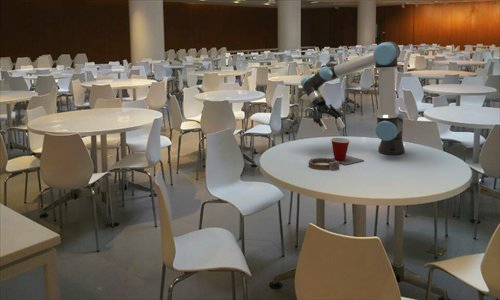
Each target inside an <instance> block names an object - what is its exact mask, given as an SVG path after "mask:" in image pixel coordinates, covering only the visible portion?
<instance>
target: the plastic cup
mask: <svg viewBox="0 0 500 300" xmlns="http://www.w3.org/2000/svg"><path fill="white" fill-rule="evenodd" d="M330 141H331V146H332V152H333V158H334V159H335V160H337V161H344V160H345V158H346V155H347V152H348V147H349V144H350V142H351V140H350V139H348V138H345V137H331V138H330Z"/></svg>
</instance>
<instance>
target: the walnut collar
mask: <svg viewBox="0 0 500 300" xmlns="http://www.w3.org/2000/svg"><path fill="white" fill-rule="evenodd" d="M308 168H310V169H313V170H319V171H326V170H327V171H332V172H333V171H337V170H340V164H339V162H338V161H337V160H334V159H331V158H329V157H328V158H327V157H317V158H311V159H309V160H308Z"/></svg>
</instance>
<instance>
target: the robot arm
mask: <svg viewBox="0 0 500 300" xmlns="http://www.w3.org/2000/svg"><path fill="white" fill-rule="evenodd" d="M400 55H401V48H400V46H399V44H397V43H396V42H394V41H386V42H385V41H384V42H381V43H379V44H378V45H377V46H376V47H375V48H374V50H373V51H371V52H370V51H369V52H368V53H366V54H363V55H360V56H357V57H355V58H352V59H350V60H346V61H344V62H342V63H338V64H335V65H333V66H330V67H328V66H326V65H325V66H323V67H322V68H320V69H319V70H318V71H317V72H316V73H315V74H314V75H313V76H312V77H311V76H306V77H305V78H303V79H302V80H301V82H300V86H301V87H302V89H303V91H304V92H305V94H306V95H307V98H308V100H309V101H310V103H311V105H312V108H311V111H312V117H313V118H312V119H313V122H314V123H315V124H318V126H319V127H321V130H322V131H323V132H324V133H325V132H327V130H328V128H327V126H326V125H325V123H324V120H322V119H321V118H322V115H323V114H327V115H330V116H332V117H333V118H335V119H336V122H337V124H338V125H339V126H340V128H341V130H343V129H344V128H345V126H346V125H345V123H344V122H343V121H344V120H343V119H342V116H343V114H342V113H341V112H339V111H338V110H337V109H336V108H335V107H334V106H333V105H332V104H331V103H329V105H328V104H327V102H326V100H325V98H324V96H323V95H322V93H321V91H320V90H319V88H321V87H323V85H324V84H325V83H328V82H331V81H334V80H336V79H339V78H341V77H345V76H349V75H350V74H352V73H355V72H358V71H361V70H364V69H367V68H370V67H373V66H375V69H376V70H377V71H378V96H379V97H378V100H379V102H378V104H379V113H378V115H377V116H376V126H375V129H374V130H375V131H374V132H375V134H376V136H377V137H378V138H379V139H380V143H379V146H378V153H380V154H382V155H386V156H387V155H388V156H390V155H391V156H397V155H403V154H405V152H406V149H405V145H404V141H403V134H404V133H403V131H404V130H403V129H404V116H403V114H399V113H396V77H395V76H396V74H395V73H396V71H395V70H396V69H397V68H398V58H399V57H400Z"/></svg>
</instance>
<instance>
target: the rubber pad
mask: <svg viewBox="0 0 500 300" xmlns="http://www.w3.org/2000/svg"><path fill="white" fill-rule="evenodd" d="M330 159H334V157H331V158H330ZM334 160H335V159H334ZM338 162H339V165H343V166H350V165H354V164H359V163H363V162H365V159H362V158H358V157H354V156H351V155H347V154H346V158H345V160H344V161H338Z"/></svg>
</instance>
